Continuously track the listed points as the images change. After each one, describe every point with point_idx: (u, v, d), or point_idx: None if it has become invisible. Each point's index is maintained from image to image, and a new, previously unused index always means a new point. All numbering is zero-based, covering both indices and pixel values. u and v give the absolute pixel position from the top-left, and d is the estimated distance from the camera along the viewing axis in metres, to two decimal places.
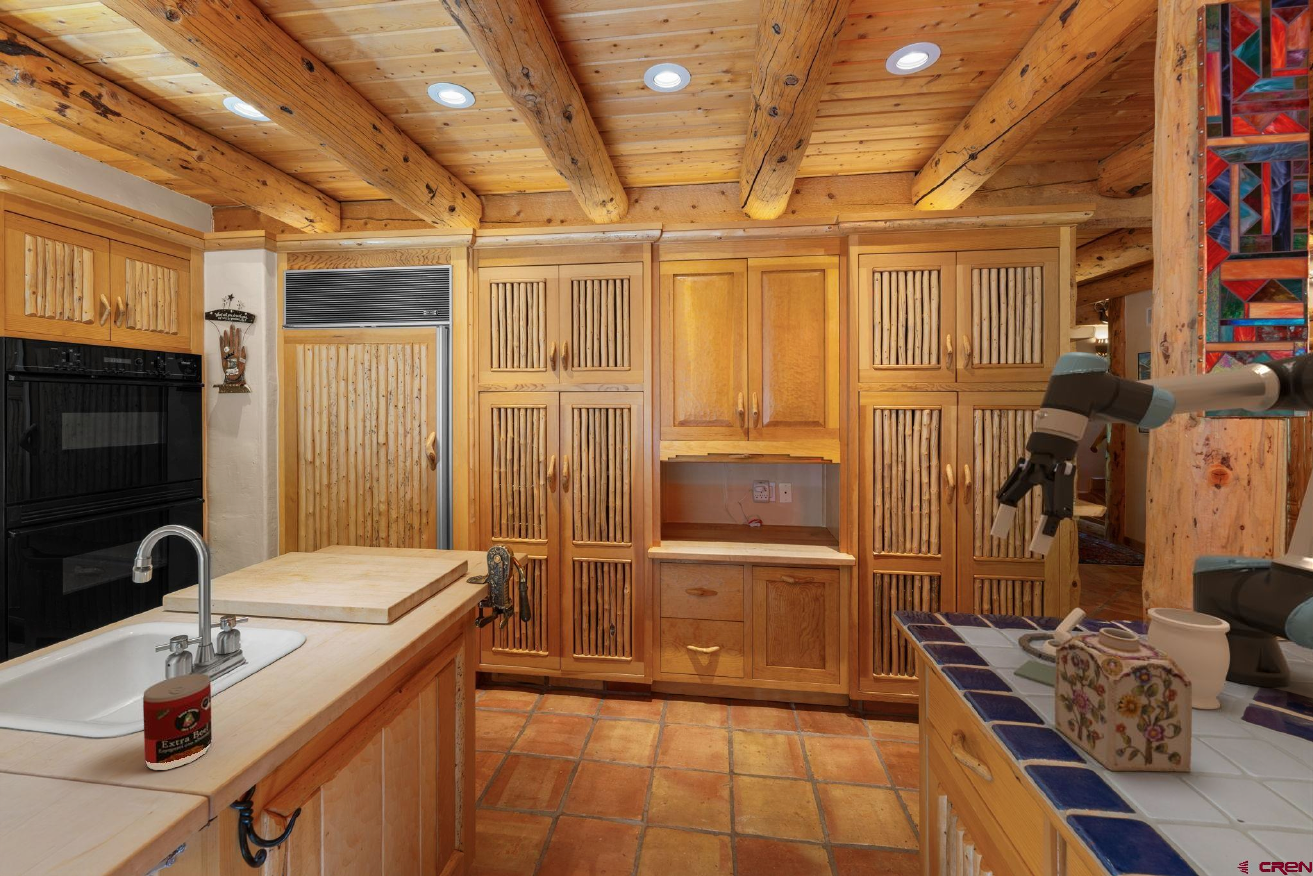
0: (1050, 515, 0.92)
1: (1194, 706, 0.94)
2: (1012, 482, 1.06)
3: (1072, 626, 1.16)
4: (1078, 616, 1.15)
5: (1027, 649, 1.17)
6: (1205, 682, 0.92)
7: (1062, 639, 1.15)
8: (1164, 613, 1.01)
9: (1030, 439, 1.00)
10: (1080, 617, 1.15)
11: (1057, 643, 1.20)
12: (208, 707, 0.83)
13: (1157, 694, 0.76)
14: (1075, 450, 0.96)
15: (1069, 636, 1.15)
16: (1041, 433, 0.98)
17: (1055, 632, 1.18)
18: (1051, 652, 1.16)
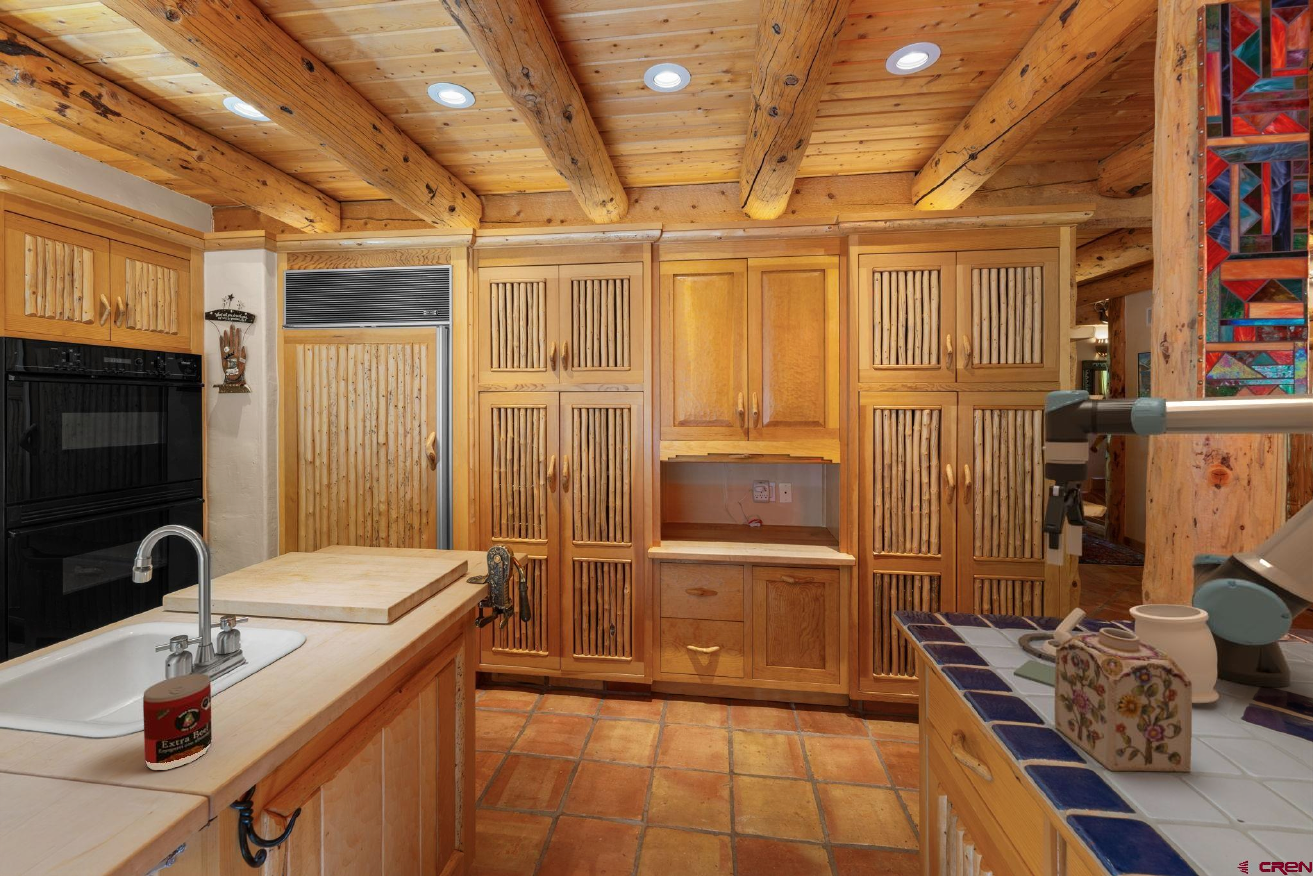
0: (1048, 532, 1.12)
1: (1193, 701, 0.94)
2: None
3: (1072, 626, 1.16)
4: (1078, 616, 1.15)
5: (1027, 649, 1.17)
6: (1197, 675, 0.93)
7: (1062, 639, 1.15)
8: (1147, 610, 1.03)
9: None
10: (1080, 617, 1.15)
11: (1057, 643, 1.20)
12: (208, 707, 0.83)
13: (1157, 694, 0.76)
14: (1075, 472, 1.12)
15: (1069, 636, 1.15)
16: None
17: (1055, 632, 1.18)
18: (1051, 652, 1.16)
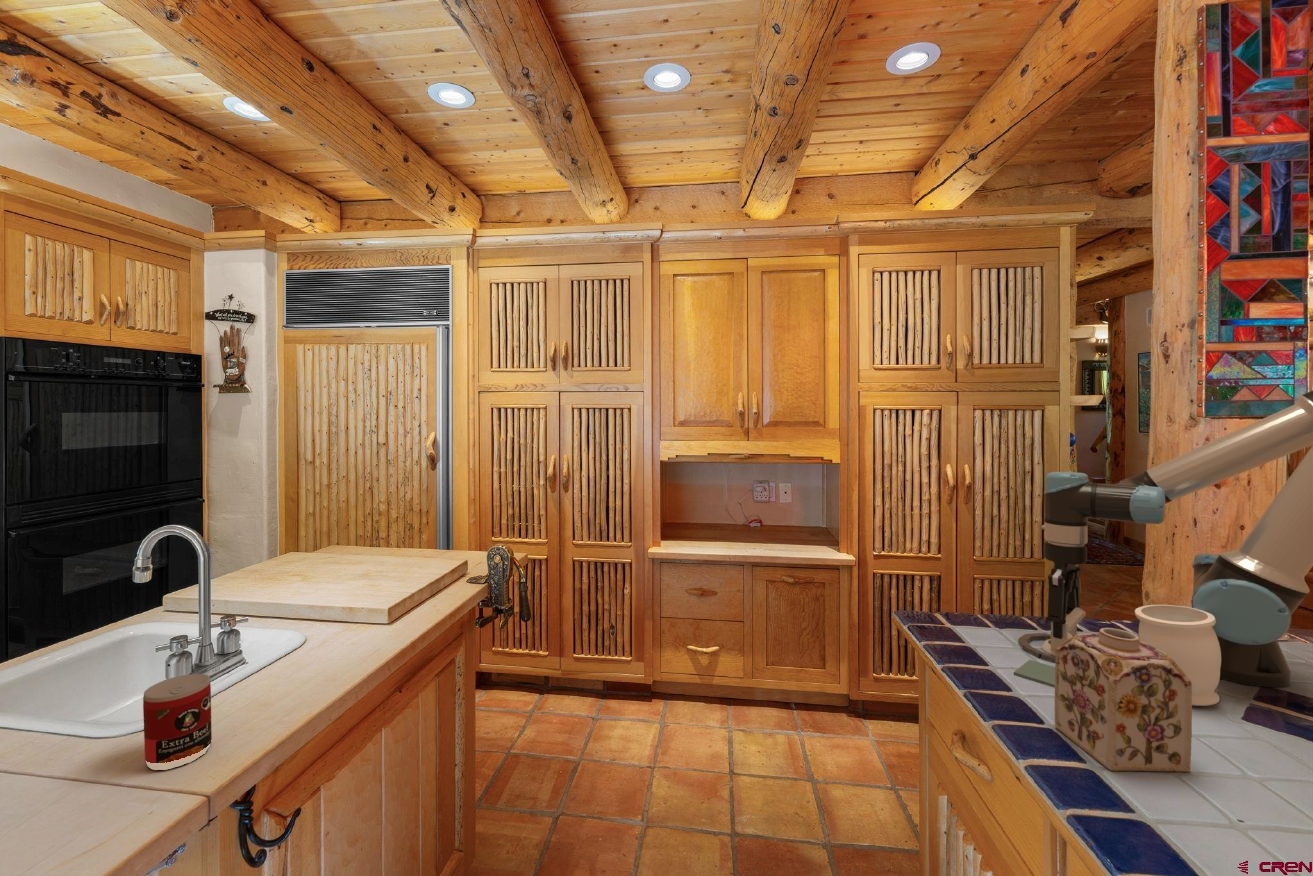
0: (1052, 621, 1.15)
1: (1193, 704, 0.94)
2: None
3: (1072, 626, 1.16)
4: (1078, 616, 1.15)
5: (1027, 649, 1.17)
6: (1200, 679, 0.93)
7: None
8: (1152, 611, 1.02)
9: None
10: (1080, 617, 1.15)
11: None
12: (208, 707, 0.83)
13: (1157, 694, 0.76)
14: (1074, 555, 1.13)
15: (1069, 636, 1.15)
16: (1044, 543, 1.18)
17: None
18: (1051, 652, 1.16)
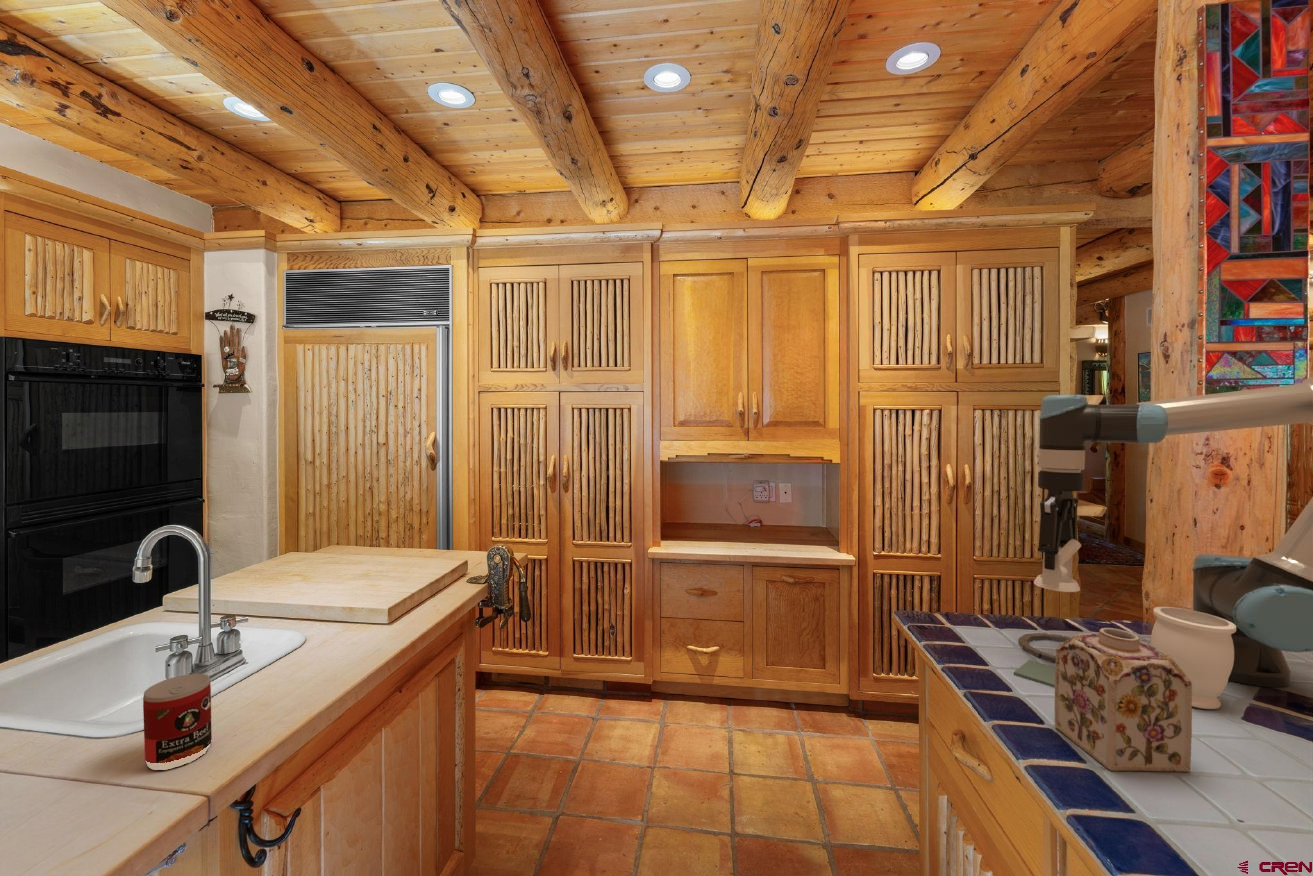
0: (1044, 552, 1.08)
1: (1194, 705, 0.93)
2: None
3: (1066, 558, 1.09)
4: (1073, 547, 1.08)
5: (1027, 649, 1.17)
6: (1207, 682, 0.92)
7: None
8: (1170, 613, 1.01)
9: None
10: (1074, 548, 1.08)
11: None
12: (208, 707, 0.83)
13: (1157, 694, 0.76)
14: (1069, 481, 1.06)
15: (1062, 567, 1.08)
16: None
17: None
18: (1042, 585, 1.09)
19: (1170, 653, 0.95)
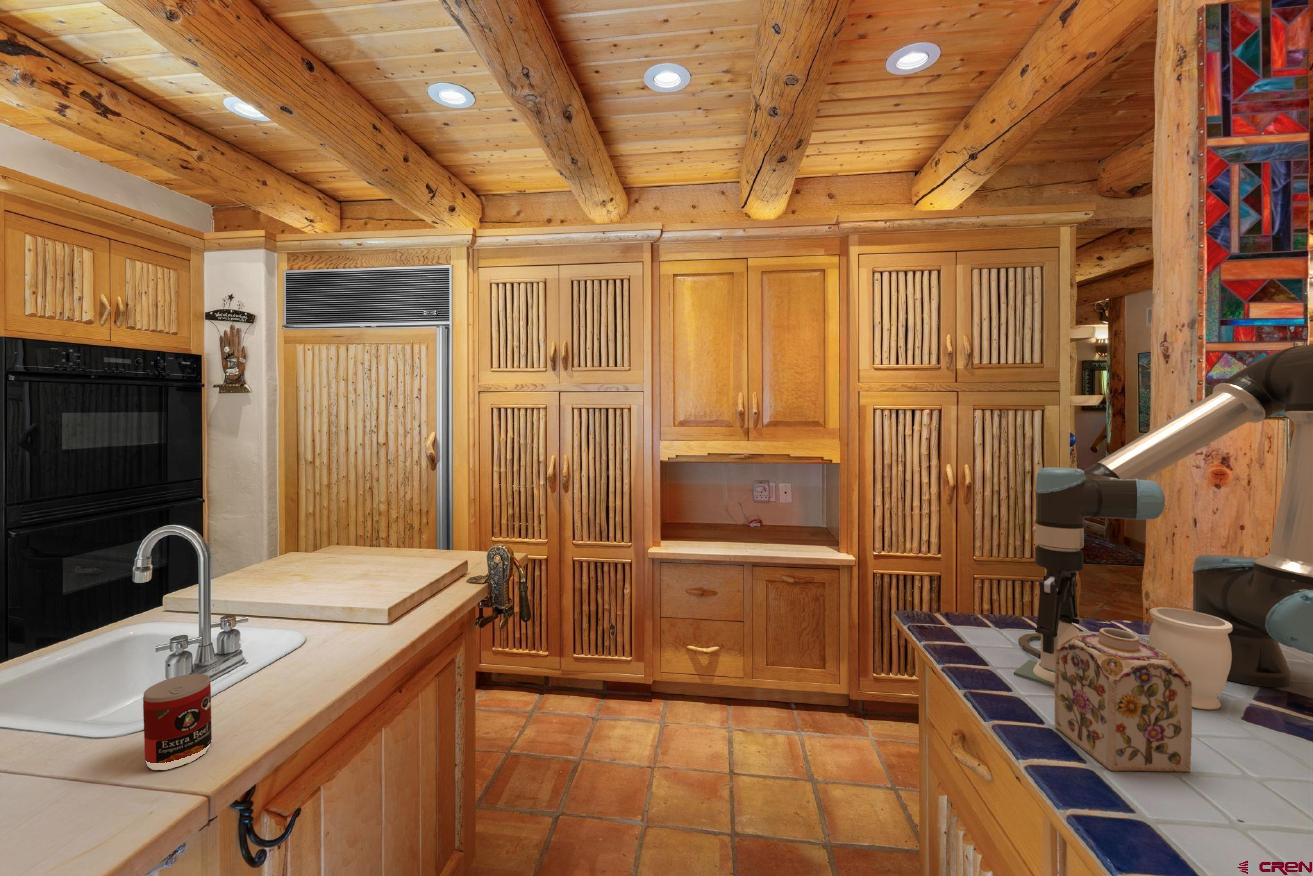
0: (1042, 633, 1.02)
1: (1193, 706, 0.94)
2: None
3: None
4: (1073, 636, 1.03)
5: (1027, 649, 1.17)
6: (1205, 682, 0.92)
7: None
8: (1167, 613, 1.01)
9: None
10: None
11: None
12: (208, 707, 0.83)
13: (1157, 694, 0.76)
14: (1069, 561, 1.01)
15: None
16: (1036, 547, 1.06)
17: None
18: (1043, 676, 1.04)
19: None
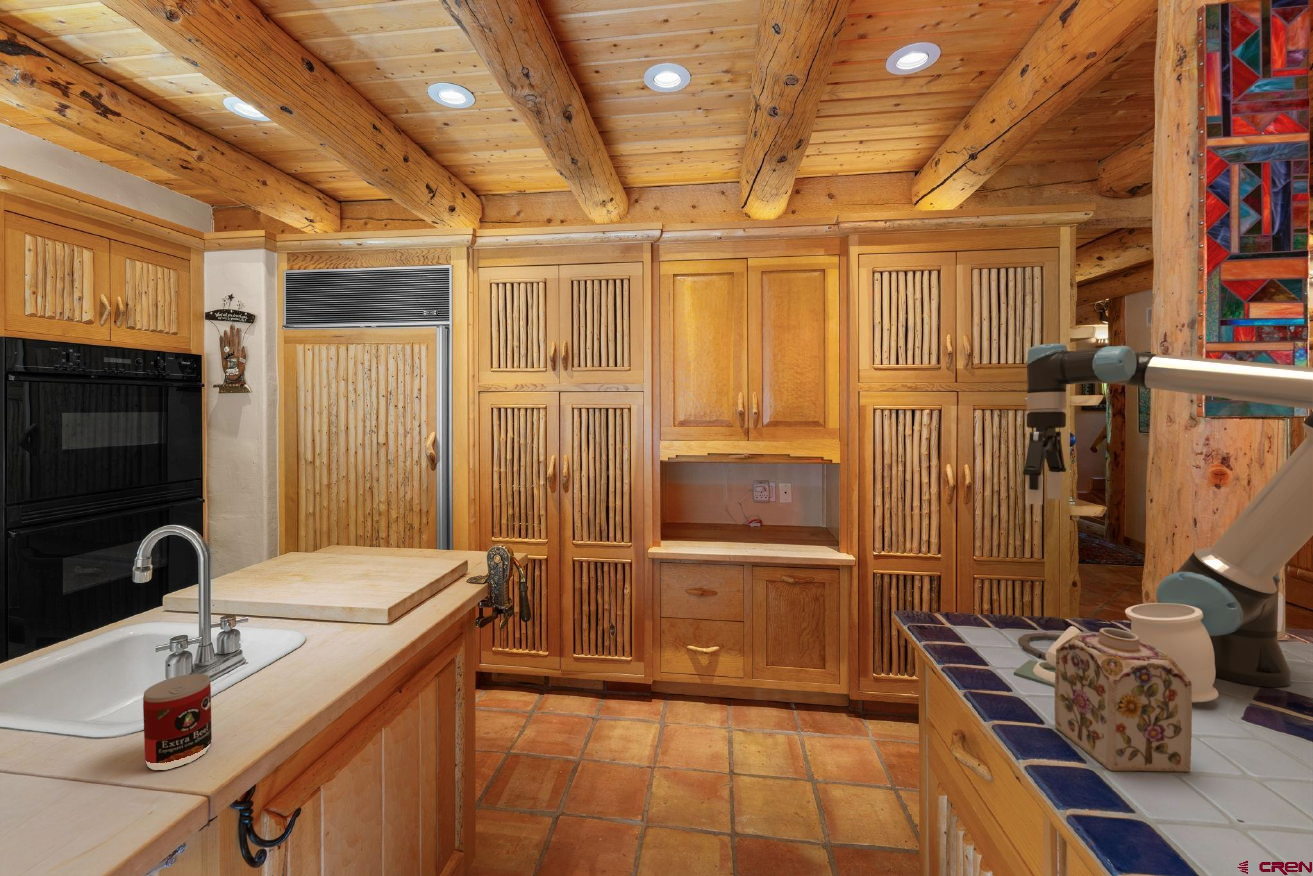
0: (1028, 474, 1.22)
1: None
2: None
3: None
4: (1073, 636, 1.03)
5: (1027, 649, 1.17)
6: (1193, 674, 0.93)
7: (1055, 661, 1.03)
8: (1144, 610, 1.03)
9: None
10: None
11: (1050, 665, 1.08)
12: (208, 707, 0.83)
13: (1157, 694, 0.76)
14: (1054, 419, 1.22)
15: None
16: None
17: (1047, 653, 1.06)
18: (1043, 676, 1.04)
19: None
